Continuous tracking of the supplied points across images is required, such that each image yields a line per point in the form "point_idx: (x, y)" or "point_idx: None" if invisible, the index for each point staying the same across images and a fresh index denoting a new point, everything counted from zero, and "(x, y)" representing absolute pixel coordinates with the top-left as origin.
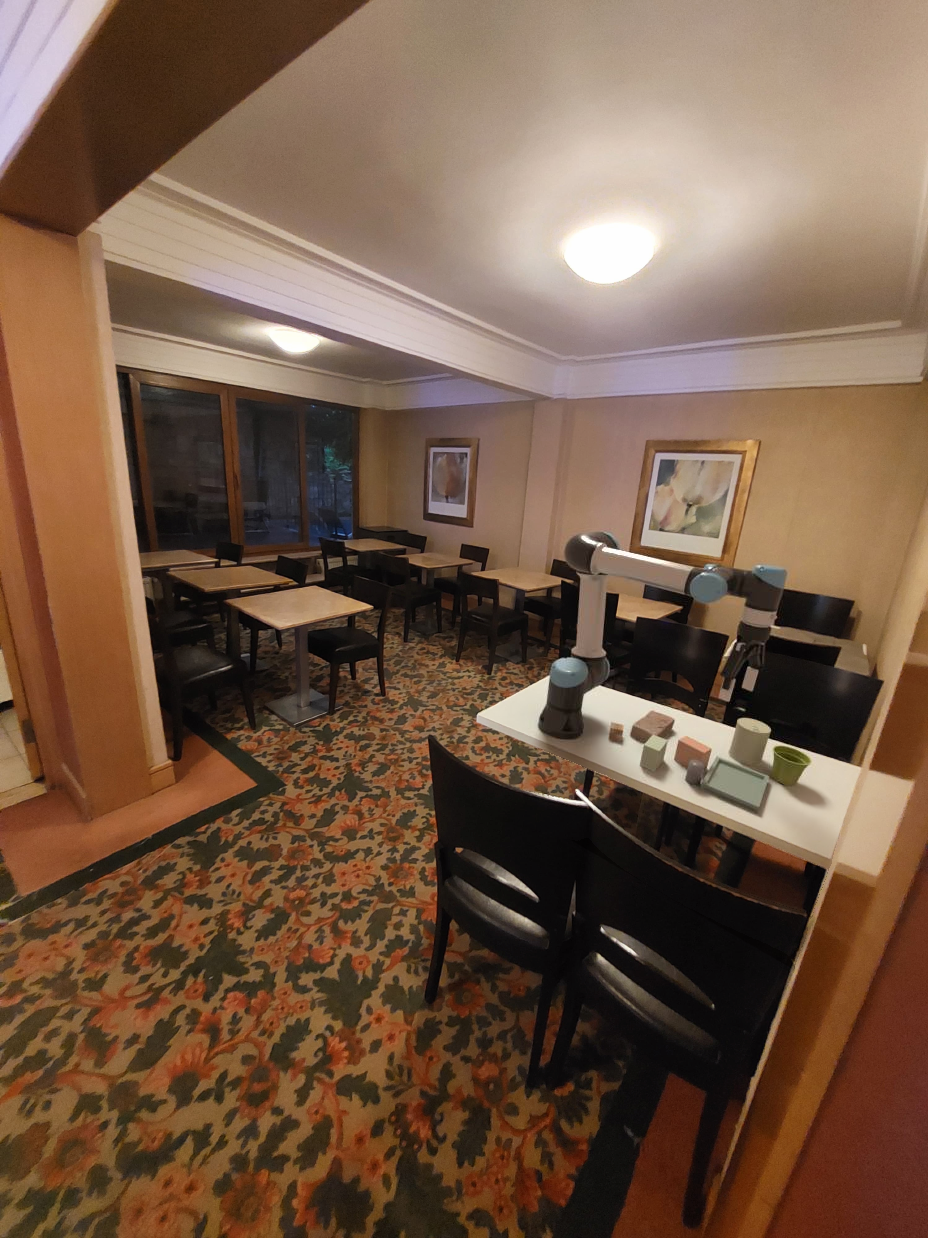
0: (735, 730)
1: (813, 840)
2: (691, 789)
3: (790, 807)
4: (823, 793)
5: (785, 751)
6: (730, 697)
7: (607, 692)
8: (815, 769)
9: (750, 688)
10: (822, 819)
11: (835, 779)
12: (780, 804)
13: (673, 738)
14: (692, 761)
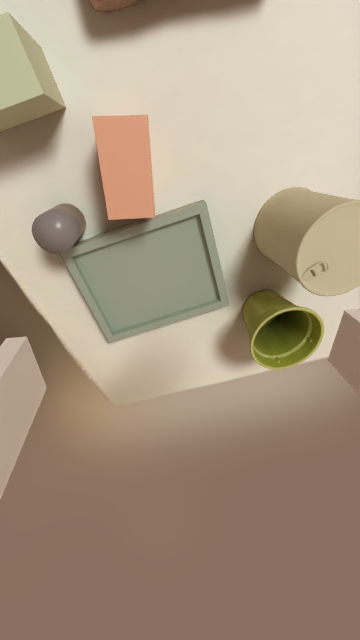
0: (310, 206)
1: (134, 391)
2: None
3: (183, 348)
4: None
5: (310, 315)
6: (36, 409)
7: None
8: None
9: (340, 362)
10: (197, 378)
11: None
12: (176, 339)
13: (214, 28)
14: (49, 219)
